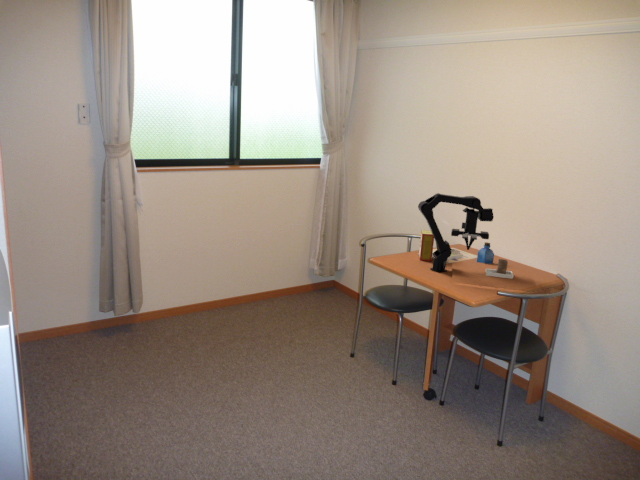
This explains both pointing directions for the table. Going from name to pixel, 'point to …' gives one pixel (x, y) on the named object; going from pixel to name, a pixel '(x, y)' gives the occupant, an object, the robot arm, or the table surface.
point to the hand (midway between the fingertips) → (467, 249)
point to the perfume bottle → (485, 254)
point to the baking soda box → (426, 245)
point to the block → (502, 266)
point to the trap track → (494, 273)
